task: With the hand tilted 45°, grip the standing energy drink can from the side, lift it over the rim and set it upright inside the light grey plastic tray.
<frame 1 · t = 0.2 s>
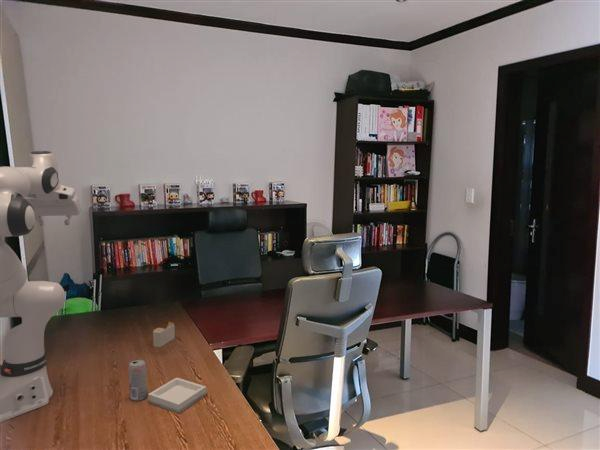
hand: (54, 224, 180), 52 cm above the table, tool tilted 20°, fingers open, 8 cm apart
tray: (177, 398, 151), on the table
model: (164, 343, 198), on the table
energy drink: (138, 397, 152), on the table
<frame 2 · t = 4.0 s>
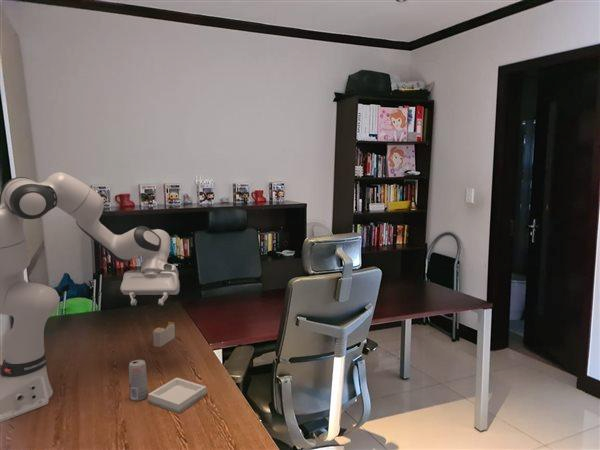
hand: (146, 304, 160), 28 cm above the table, tool tilted 45°, fingers open, 8 cm apart
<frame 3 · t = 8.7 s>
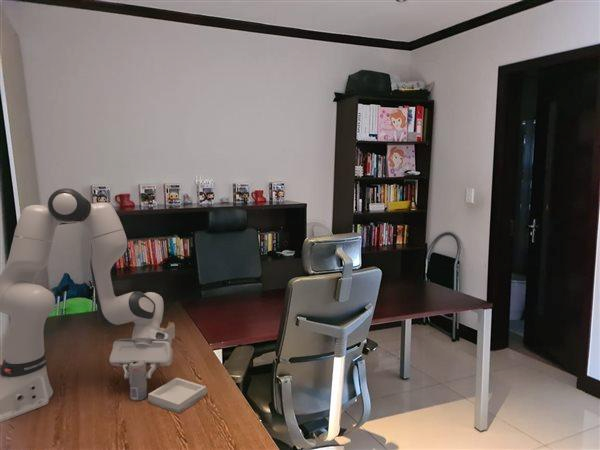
hand: (137, 378, 150), 7 cm above the table, tool tilted 45°, fingers closed on energy drink, 5 cm apart
energy drink: (138, 397, 152), on the table, touching gripper
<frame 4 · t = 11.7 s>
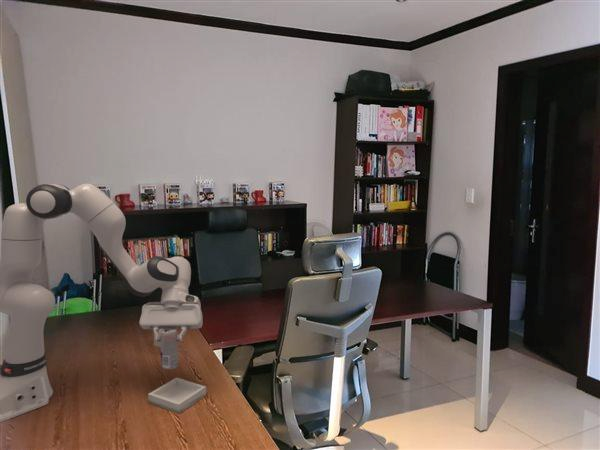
hand: (168, 340, 148), 20 cm above the table, tool tilted 45°, fingers closed on energy drink, 5 cm apart
energy drink: (170, 366, 150), point 11 cm above the table, touching gripper
when the fingers open (9 cm above the table, at t = 14.9 s): energy drink stays where it is, resting on tray.
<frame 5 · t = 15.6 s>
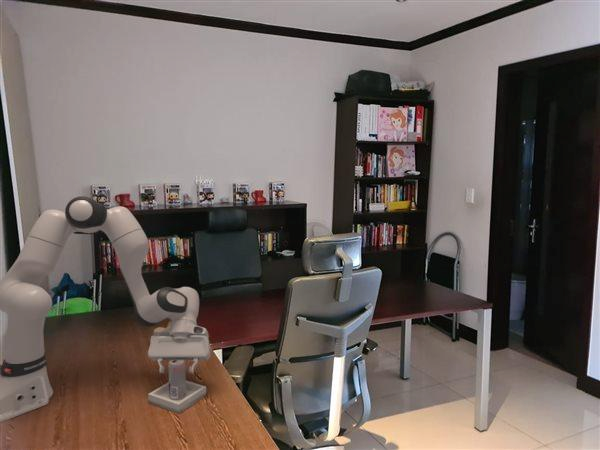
hand: (176, 372, 149), 9 cm above the table, tool tilted 45°, fingers open, 8 cm apart
energy drink: (177, 396, 151), point 1 cm above the table, touching tray
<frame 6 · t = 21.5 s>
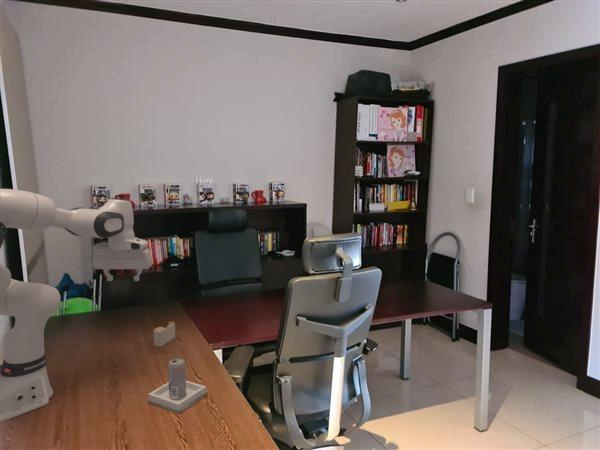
hand: (123, 280, 167), 34 cm above the table, tool pointing down, fingers open, 8 cm apart
at the end: energy drink inside the target area on the tray (0.1 cm from its centre), point 0.8 cm above the tray's base; energy drink tilted 0°; the gripper is holding nothing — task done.
